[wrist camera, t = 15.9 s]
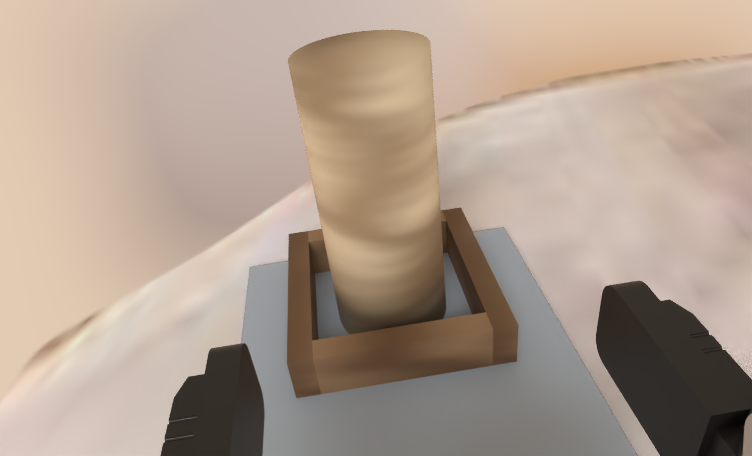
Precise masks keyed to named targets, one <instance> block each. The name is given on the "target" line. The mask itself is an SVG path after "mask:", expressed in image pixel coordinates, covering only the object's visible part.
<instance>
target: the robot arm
mask: <svg viewBox="0 0 752 456" xmlns="http://www.w3.org/2000/svg"><path fill="white" fill-rule="evenodd" d="M596 344H597V349H598V353H599V356H600V358H601V361H602V362H603V364H604V366H605V367H606V369H607V371H608V372H609V374H610V376H611V377H612V379H613V380H614V382H615V384H616V385H617V387H618V388H619V390H620V392H621V393H622V395H623V396H624V398H625V400H626V401H627V403H628V404H629V406H630V408H631V409H632V411H633V412H634V414H635V416H636V417H637V419H638V421H639V422H640V424H641V425H642V427H643V429H644V430H645V432H646V433H647V435H648V437H649V438H650V440H651V441H652V443H653V445H654V446H655V448H656V449H657V451H658V453H659V454H660V456H752V380H751V378H750V377H749V376H748V375H747V374H746V373H745V372H744V371H743V369H742V368H741V367H740V366H739V365H738V364H737V363H736V362H735V361H734V359H733V358H732V357H731V356H730V355H729V354H728V353H727V352H726V350H722V346H721V345H720V344H719V343H718V342H717V340H716V339H715V338H714V337H713V336H712V335H709V331H708V330H707V329H706V328H705V327H704V326H703V325H702V324H701V323H700V321H699V320H698V319H697V318H696V317H695V316H694V315H693V314H692V313H691V312H689V311H687V310H686V309H684V308H682V307H681V306H679V305H678V304H676V303H674V302H673V301H671V300H664V301H660V300H659V299H658V298H657V297H656V295H655V294H654V293H653V292H652V291H651V289H650V288H649V287H648V286H647V285H646V284H645V283H644V282H642V281H634V282H628V283H622V284H615V285H609V286H606V287H605V288H604V290H603V293H602V299H601V306H600V312H599V319H598V325H597V332H596ZM264 420H265V411H264V400H263V394H262V390H261V386H260V383H259V380H258V377H257V374H256V371H255V368H254V365H253V361H252V358H251V355H250V352H249V349H248V347H247V345H246V344H245V343H242V344H236V345H230V346H223V347H217V348H211V349H210V351H209V354H208V359H207V364H206V370H205V374H203V375H197V376H191V377H188V378H187V379H186V381H185V382H184V384H183V385H182V387H181V388H180V390H179V391H178V393H177V394H176V396H175V397H174V400H173V404H172V409H171V413H170V417H169V424H168V426H167V430H166V434H165V443H163V447H162V452H161V456H262V454H263V437H264Z"/></svg>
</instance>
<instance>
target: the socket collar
mask: <svg viewBox="0 0 752 456" xmlns="http://www.w3.org/2000/svg"><path fill="white" fill-rule="evenodd" d="M440 212H441V229H442V245H443V253H448V255H449V257H450V260H451V262H452V265H453V267H454V270H455V272H456V275H457V277H458V280H459V282H460V285H461V287H462V290H463V292H464V295H465V297H466V300H467V302H468V305H469V307H470V310H471V312H472V315H466V316H460V317H453V318H447V319H441V320H435V321H429V322H423V323H417V324H411V325H404V326H398V327H392V328H386V329H380V330H374V331H368V332H362V333H356V334H349V335H343V336H337V337H331V338H325V339H319V340H318V320H317V300H316V281H315V273H322V272H328V271H330V266H329V261H328V257H327V252H326V247H325V242H324V237H323V232H322V229H319V230H313V231H306V232H300V233H293V234H289V257H288V319H287V366H288V370H289V373H290V377H291V381H292V384H293V388H294V392H295V395H296V398H302V397H308V396H314V395H320V394H326V393H332V392H338V391H344V390H350V389H356V388H362V387H368V386H374V385H380V384H386V383H392V382H398V381H404V380H409V379H415V378H421V377H427V376H433V375H439V374H445V373H451V372H457V371H463V370H469V369H475V368H481V367H487V366H493V365H499V364H505V363H511V362H517V347H518V326H519V325H518V323H517V321H516V319H515V317H514V315H513V313H512V311H511V309H510V307H509V305H508V303H507V301H506V299H505V297H504V295H503V293H502V290H501V288H500V286H499V284H498V282H497V280H496V278H495V276H494V274H493V272H492V270H491V268H490V266H489V264H488V262H487V260H486V258H485V256H484V254H483V252H482V250H481V248H480V246H479V244H478V242H477V240H476V238H475V236H474V234H473V232H472V229H471V227H470V225H469V223H468V221H467V219H466V217H465V215H464V213H463V211H462V209H461V208H455V209H449V210H442V211H440Z"/></svg>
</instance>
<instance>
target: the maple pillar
mask: <svg viewBox="0 0 752 456" xmlns="http://www.w3.org/2000/svg"><path fill="white" fill-rule="evenodd" d="M288 63H289V69H290V74H291V78H292V83H293V88H294V93H295V98H296V103H297V108H298V113H299V118H300V123H301V128H302V133H303V138H304V143H305V148H306V153H307V157H308V163H309V167H310V172H311V177H312V182H313V187H314V192H315V197H316V202H317V207H318V212H319V217H320V222H321V227H322V232H323V237H324V242H325V247H326V252H327V257H328V261H329V266H330V271H331V276H332V281H333V286H334V291H335V296H336V301H337V306H338V311H339V316H340V321H341V323H342V326H343V327H344V329H345V330H346V331H347V332H348V333H349V334H356V333H362V332H368V331H374V330H380V329H386V328H392V327H398V326H404V325H411V324H417V323H423V322H429V321H435V320H441V319H443V318H444V315H445V312H446V295H445V279H444V262H443V245H442V229H441V212H440V196H439V179H438V162H437V146H436V129H435V112H434V97H433V79H432V63H431V46H430V41H429V39H428V38H427V37H425V36H423V35H421V34H418V33H414V32H408V31H400V30H373V31H362V32H354V33H348V34H342V35H337V36H333V37H329V38H325V39H322V40H319V41H316V42H313V43H310V44H308V45H306V46H304V47H302V48H300V49H298V50H296V51H295V52H294V53H293V54H292V55H290V57H289V59H288Z"/></svg>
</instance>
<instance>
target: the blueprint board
mask: <svg viewBox="0 0 752 456" xmlns="http://www.w3.org/2000/svg"><path fill="white" fill-rule="evenodd" d="M473 234H474V236H475V238H476V240H477V242H478V244H479V246H480V248H481V250H482V252H483V254H484V256H485V258H486V260H487V262H488V264H489V266H490V268H491V270H492V272H493V274H494V276H495V278H496V280H497V282H498V284H499V286H500V288H501V290H502V293H503V295H504V297H505V299H506V301H507V303H508V305H509V307H510V309H511V311H512V313H513V315H514V317H515V319H516V321H517V323H518V325H519V326H518V347H517V362H511V363H505V364H499V365H493V366H487V367H481V368H475V369H469V370H463V371H457V372H451V373H445V374H439V375H433V376H427V377H421V378H415V379H409V380H404V381H398V382H392V383H386V384H380V385H374V386H368V387H362V388H356V389H350V390H344V391H338V392H332V393H326V394H320V395H314V396H308V397H302V398H296V395H295V392H294V388H293V384H292V381H291V377H290V373H289V370H288V366H287V319H288V261H284V262H278V263H272V264H265V265H259V266H252V267H250V269H249V278H248V287H247V296H246V305H245V313H244V322H243V331H242V340H241V344H242V343H245V344H246V345H247V347H248V349H249V352H250V355H251V358H252V361H253V365H254V368H255V371H256V374H257V377H258V380H259V383H260V386H261V390H262V394H263V400H264V411H265V420H264V437H263V454H262V456H638V455H637V454H636V452H635V450H634V449H633V447H632V445H631V443H630V442H629V440H628V438H627V437H626V435H625V433H624V431H623V430H622V428H621V426H620V425H619V423H618V421H617V419H616V418H615V416H614V414H613V413H612V411H611V409H610V408H609V406H608V404H607V402H606V401H605V399H604V397H603V396H602V394H601V392H600V390H599V389H598V387H597V385H596V384H595V382H594V380H593V379H592V377H591V375H590V373H589V372H588V370H587V368H586V367H585V365H584V363H583V361H582V360H581V358H580V356H579V355H578V353H577V351H576V349H575V348H574V346H573V344H572V343H571V341H570V339H569V338H568V336H567V334H566V332H565V331H564V329H563V327H562V326H561V324H560V322H559V320H558V319H557V317H556V315H555V314H554V312H553V310H552V309H551V307H550V305H549V303H548V302H547V300H546V298H545V297H544V295H543V293H542V291H541V290H540V288H539V286H538V285H537V283H536V281H535V279H534V278H533V276H532V274H531V273H530V271H529V269H528V268H527V266H526V264H525V262H524V261H523V259H522V257H521V256H520V254H519V252H518V250H517V249H516V247H515V245H514V244H513V242H512V240H511V239H510V237H509V235H508V233H507V232H506V230H505V228H504V227H502V228H495V229H489V230H482V231H476V232H473ZM443 262H444V279H445V295H446V312H445V315H444V318H443V319H447V318H453V317H460V316H466V315H472V312H471V310H470V307H469V305H468V302H467V300H466V297H465V295H464V292H463V290H462V287H461V285H460V282H459V280H458V277H457V275H456V272H455V270H454V267H453V265H452V262H451V260H450V257H449V255H448V253H443ZM315 281H316V300H317V320H318V340H319V339H325V338H331V337H337V336H343V335H349V333H348V332H347V331H346V330H345V329H344V327H343V326H342V323H341V321H340V316H339V311H338V306H337V301H336V296H335V291H334V286H333V281H332V276H331V271H328V272H322V273H315Z"/></svg>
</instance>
